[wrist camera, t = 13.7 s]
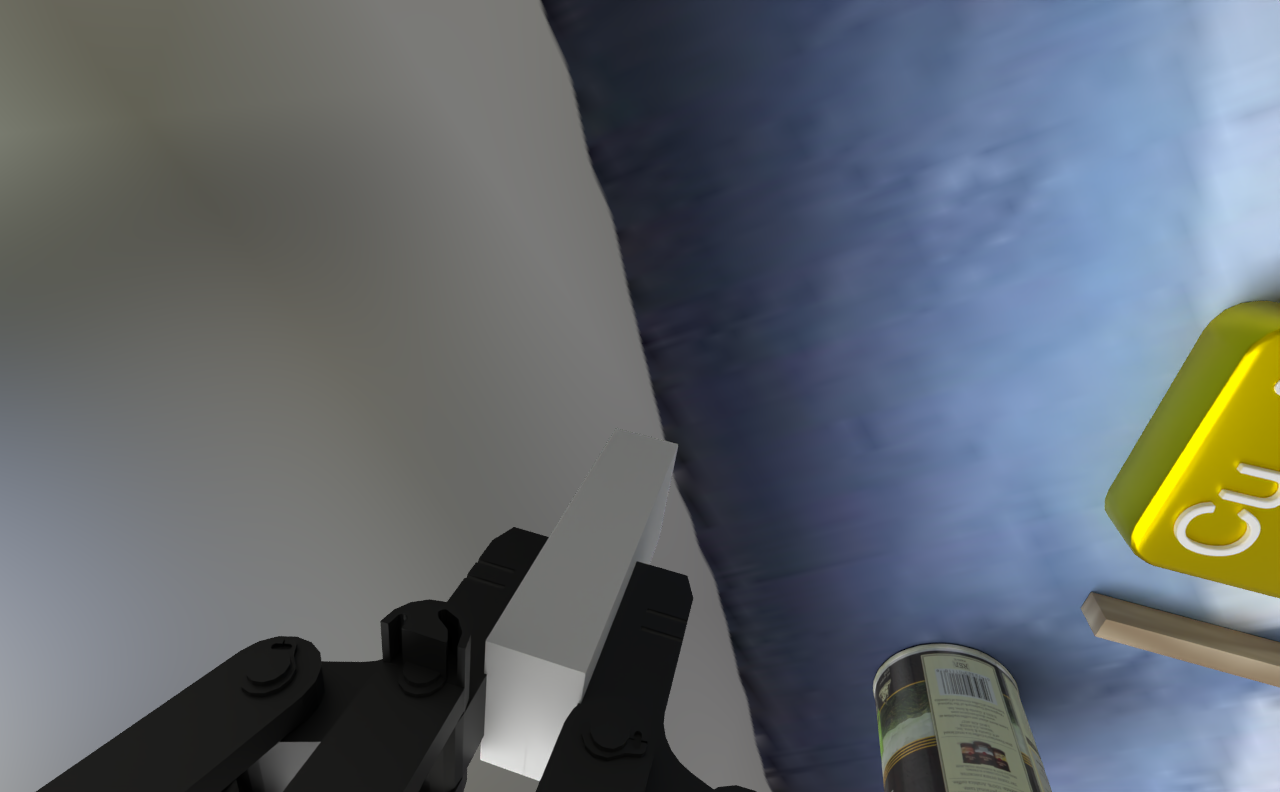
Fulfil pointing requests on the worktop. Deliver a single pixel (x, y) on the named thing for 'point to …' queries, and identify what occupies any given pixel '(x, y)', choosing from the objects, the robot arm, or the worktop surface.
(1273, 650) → the wooden bay
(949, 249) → the worktop surface
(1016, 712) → the coffee can
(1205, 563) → the element tile
